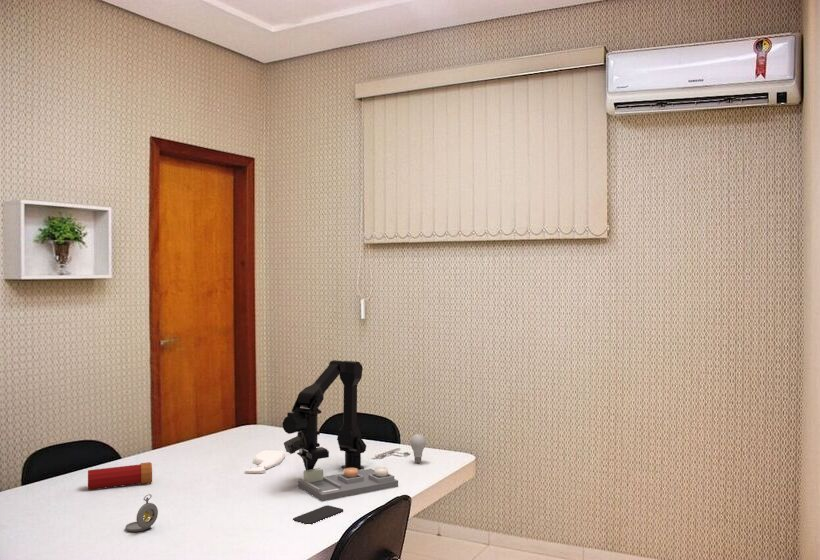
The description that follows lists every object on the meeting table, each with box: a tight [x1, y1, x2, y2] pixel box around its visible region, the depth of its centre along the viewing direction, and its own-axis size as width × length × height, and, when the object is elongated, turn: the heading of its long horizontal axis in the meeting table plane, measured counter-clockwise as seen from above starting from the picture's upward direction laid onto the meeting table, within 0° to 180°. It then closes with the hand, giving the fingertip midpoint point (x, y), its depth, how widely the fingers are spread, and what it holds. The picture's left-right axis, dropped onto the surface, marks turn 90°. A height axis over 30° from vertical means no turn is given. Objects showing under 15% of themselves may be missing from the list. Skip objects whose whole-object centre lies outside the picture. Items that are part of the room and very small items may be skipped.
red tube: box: [87, 461, 153, 491], centre depth 227 cm, size 7×20×7 cm, turn 114°
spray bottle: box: [244, 449, 286, 474], centre depth 254 cm, size 3×11×24 cm
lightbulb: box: [409, 433, 427, 464], centre depth 257 cm, size 6×6×11 cm
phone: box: [292, 505, 344, 525], centre depth 198 cm, size 7×1×15 cm
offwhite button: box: [374, 466, 389, 477], centre depth 228 cm, size 5×5×2 cm
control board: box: [297, 468, 399, 502], centre depth 226 cm, size 18×28×4 cm, turn 124°
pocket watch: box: [125, 493, 159, 533], centre depth 186 cm, size 8×8×10 cm
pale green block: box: [303, 467, 324, 483], centre depth 226 cm, size 2×6×4 cm, turn 124°
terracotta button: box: [343, 468, 359, 477], centre depth 227 cm, size 5×5×2 cm
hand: (308, 474), depth 229 cm, fingers closed
